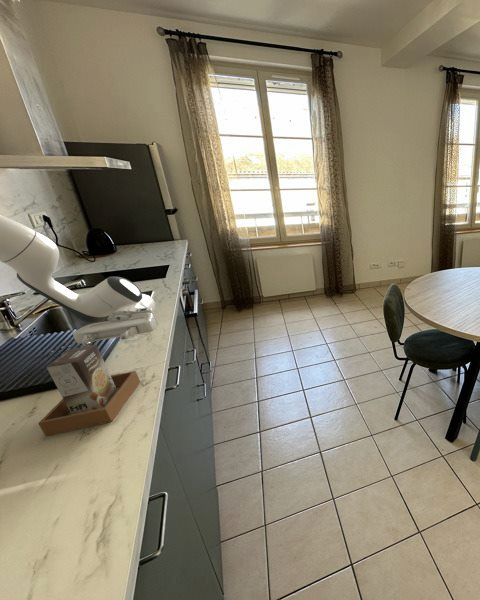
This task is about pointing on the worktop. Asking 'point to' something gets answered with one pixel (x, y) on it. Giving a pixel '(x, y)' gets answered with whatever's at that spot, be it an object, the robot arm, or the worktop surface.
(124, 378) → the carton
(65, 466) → the worktop surface
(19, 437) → the worktop surface
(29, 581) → the worktop surface
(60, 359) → the coffee box
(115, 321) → the robot arm
